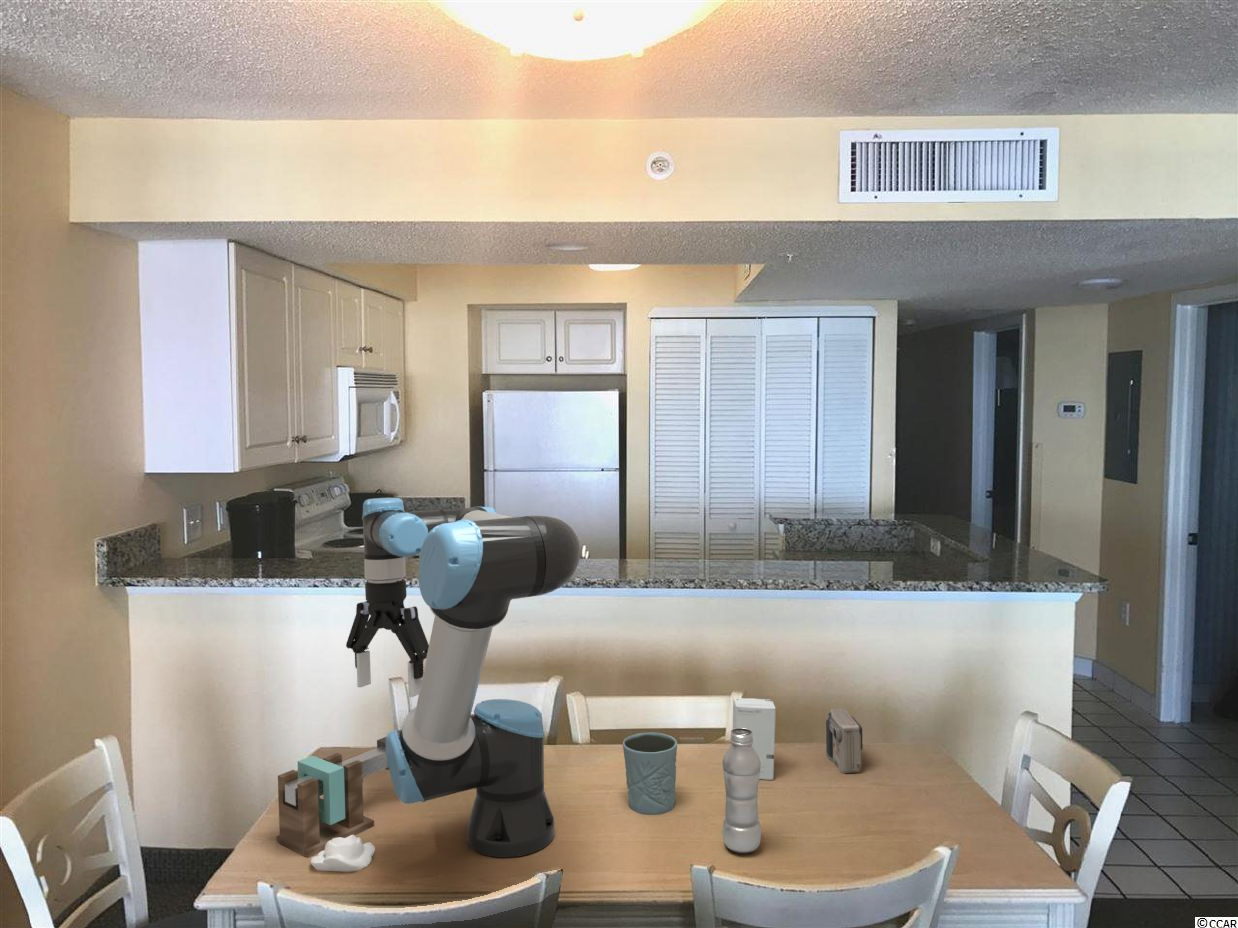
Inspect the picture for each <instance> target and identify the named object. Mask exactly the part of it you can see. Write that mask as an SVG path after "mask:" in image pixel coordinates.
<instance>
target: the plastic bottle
mask: <svg viewBox="0 0 1238 928" xmlns="http://www.w3.org/2000/svg"><path fill="white" fill-rule="evenodd" d="M729 739H730V740H729V743H730V744H731V745H730V746H729V748H728V749H727V750H726V752H725V754H724V755H723V758H722V768H723V769H722V770H723V771H722V772H723V778H724V786H725V787H724V788H725V810H724V820H723V825H722V832H721V833H722V838H723V842H724V844H725V845H726V847H727V849H729V850H731V851H733V852H736V853H739V854H749V853H753V852H754V851H756V850H758V847H760V845H761V840H762V830H761V824H760V819H759V818H760V817H759V808H758V806H759V805H758V792H759V783H760V782H759V781H760V779H759V776H760V767H761V763H760V759H759V756H758V755H757V753H756V751H755V750H754V749H753V747H752V746H751V745H752V744H753V733H752V731H751V730H749V729H746V728H735V729H733V728H732V729H730V738H729Z"/></svg>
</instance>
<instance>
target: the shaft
mask: <svg viewBox="0 0 1238 928" xmlns="http://www.w3.org/2000/svg"><path fill="white" fill-rule="evenodd" d="M356 760H358V761H361V762H362V779H364V778H366V777H368V776H371V775H373V774H376V773H378V772H381V771H383V770H387V771H389V767H388V761H387V755H386V736H384V737H382V738H379V739H376V748H374V749H370V750H369V751H365V752H363V753H361V754H359V755H356V756H353V757H351V758H349V759H345V760H342V762H340V763H338V764H336V765H338V766H341V767H343V766H344V765H346V764H349V763H351V762H354V761H356ZM311 778H314V777H312V776H309V775H307V776H304V777H302V778H299V779H297V780H294V781H292V782H289V783H287V784H285V802H288V803H290V804H292V805H294V806H297V805H298V785H297V784H298V783H301V782H303V781H306V780H309V779H311ZM315 779H317V778H315ZM319 796H323V781H321V780H319V779H318V797H319Z"/></svg>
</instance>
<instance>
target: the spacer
mask: <svg viewBox="0 0 1238 928" xmlns="http://www.w3.org/2000/svg"><path fill="white" fill-rule="evenodd" d="M297 771H298V779H299V778H302V777H304V776H307V775H309V776H312V777H314V778H317V779H319V780H321V781H323V795H322V796H323V798H321V797H320V796H319V797H318V803H319V820H320V821H322V822H324V823H327V824H329V825H332V824H334V823H336V822H339V821H341V820H343V819H345V789H344V767H341V766H338V765H336V764H333V763H331V762H328V761H325V760H323V758H320V757H317V756H315V755H311V756H308V757H305V758H302V759H299V760H298V761H297Z"/></svg>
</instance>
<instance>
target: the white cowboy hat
mask: <svg viewBox="0 0 1238 928" xmlns="http://www.w3.org/2000/svg"><path fill="white" fill-rule="evenodd" d="M375 850H376V847H375V845H373V843H371V842H365V843H363V841H362V839H361V837H359V836H358V837H356V835H350V836H349V837H347V838H342V837H338V838H333V839H332V840H330V841H328V842H327V843H326V845H325V850H323V851H321V852H319V853H317V855H314V856H312V858H310V863H311V865H312V866H313V867H314V869H315V870H316V871H324V872H325V871H330V872H331V871H332V872H357V871H360V870H364V869H366V868H367V867H368V866H369V865H370V864H371V862H372V860H373V859H372V857H373V856H374V854H375V852H376V851H375ZM365 867H366V868H365ZM363 868H364V869H363Z"/></svg>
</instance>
